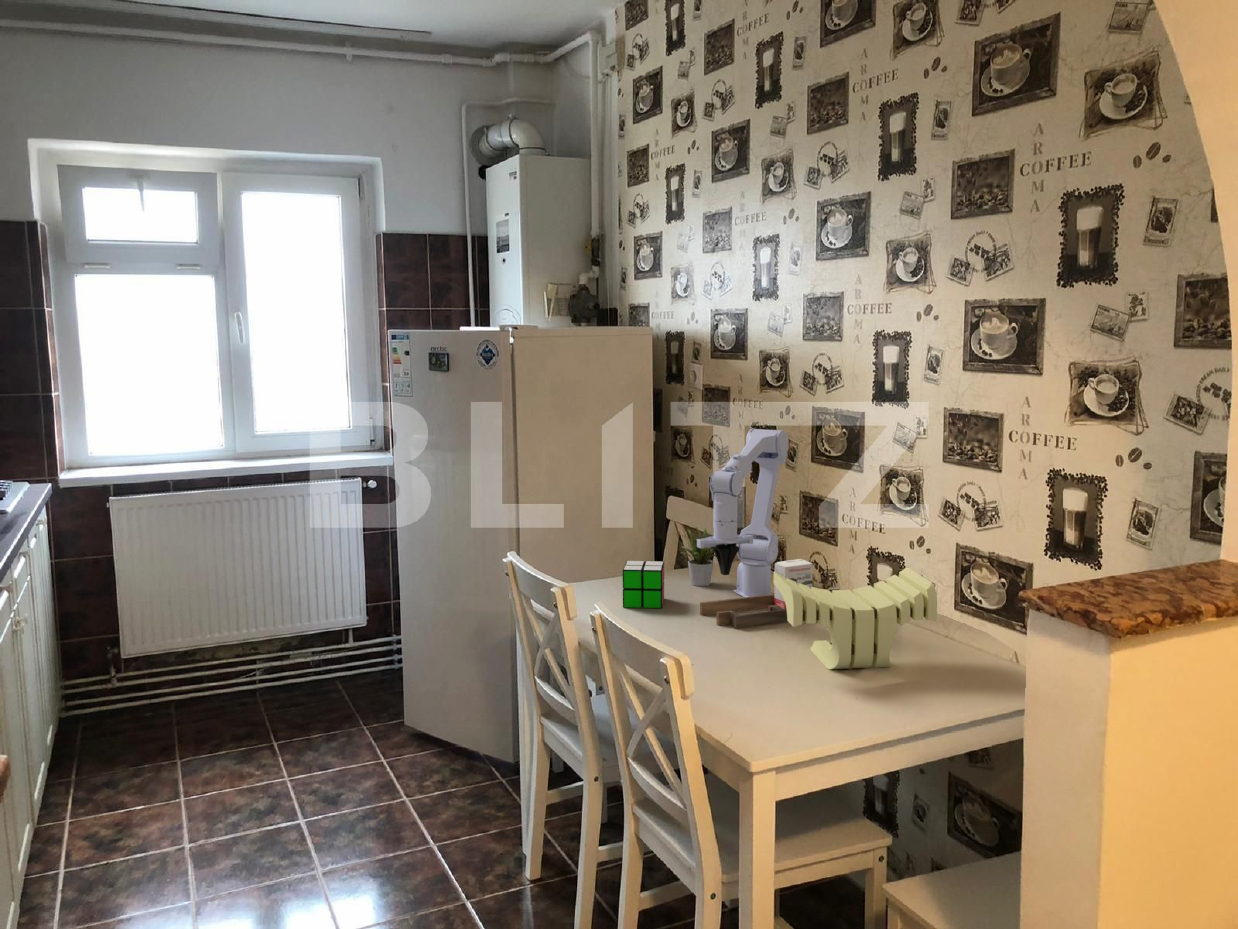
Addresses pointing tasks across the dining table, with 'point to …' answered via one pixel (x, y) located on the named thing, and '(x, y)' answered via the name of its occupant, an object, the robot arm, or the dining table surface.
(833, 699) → the dining table surface
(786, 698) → the dining table surface
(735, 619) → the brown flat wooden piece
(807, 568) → the ink box
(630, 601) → the puzzle cube
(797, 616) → the slatted curved stool
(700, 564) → the house plant
